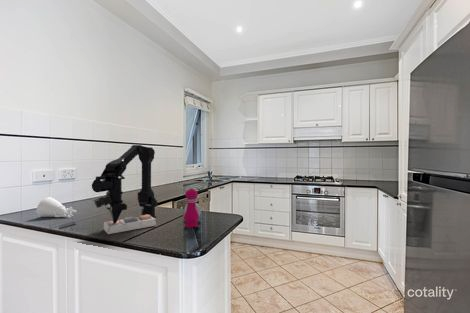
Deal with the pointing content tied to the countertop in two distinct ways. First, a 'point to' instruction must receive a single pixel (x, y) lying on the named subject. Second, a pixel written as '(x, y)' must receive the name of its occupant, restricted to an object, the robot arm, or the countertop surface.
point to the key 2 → (144, 217)
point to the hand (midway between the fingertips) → (114, 222)
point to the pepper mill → (191, 208)
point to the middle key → (130, 219)
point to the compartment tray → (128, 225)
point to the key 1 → (114, 223)
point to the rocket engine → (53, 209)
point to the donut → (196, 209)
